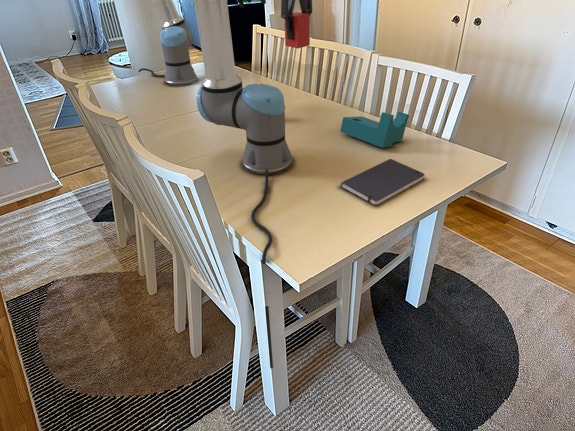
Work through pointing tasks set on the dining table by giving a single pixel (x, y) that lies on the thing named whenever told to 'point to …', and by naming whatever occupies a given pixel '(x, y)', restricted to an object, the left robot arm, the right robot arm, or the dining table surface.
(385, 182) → the notebook
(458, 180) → the dining table surface
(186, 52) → the left robot arm
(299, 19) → the block
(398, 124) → the teal l-shaped bracket
